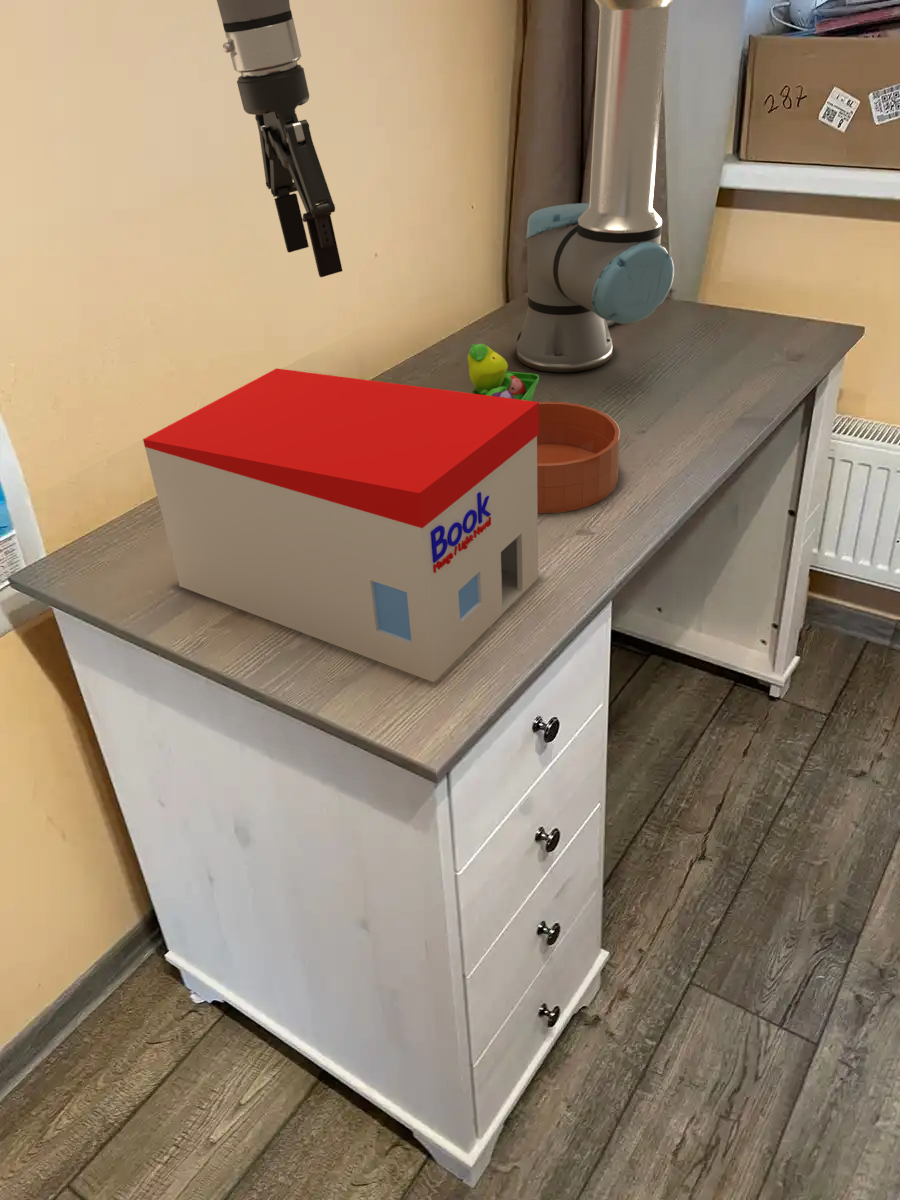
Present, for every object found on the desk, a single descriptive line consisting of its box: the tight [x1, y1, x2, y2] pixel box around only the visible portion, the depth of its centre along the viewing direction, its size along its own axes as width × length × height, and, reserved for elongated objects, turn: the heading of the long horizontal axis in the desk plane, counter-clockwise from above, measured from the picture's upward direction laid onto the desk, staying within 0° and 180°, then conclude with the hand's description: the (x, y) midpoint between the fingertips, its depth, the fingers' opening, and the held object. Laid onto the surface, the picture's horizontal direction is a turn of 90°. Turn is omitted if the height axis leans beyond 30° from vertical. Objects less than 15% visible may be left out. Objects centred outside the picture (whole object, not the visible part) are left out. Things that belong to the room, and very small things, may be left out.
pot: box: [537, 401, 621, 514], centre depth 129 cm, size 18×18×6 cm
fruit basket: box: [467, 342, 540, 401], centre depth 143 cm, size 11×9×11 cm
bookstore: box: [142, 367, 540, 683], centre depth 108 cm, size 21×35×21 cm, turn 57°
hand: (313, 261), depth 124 cm, fingers open, 13 cm apart
